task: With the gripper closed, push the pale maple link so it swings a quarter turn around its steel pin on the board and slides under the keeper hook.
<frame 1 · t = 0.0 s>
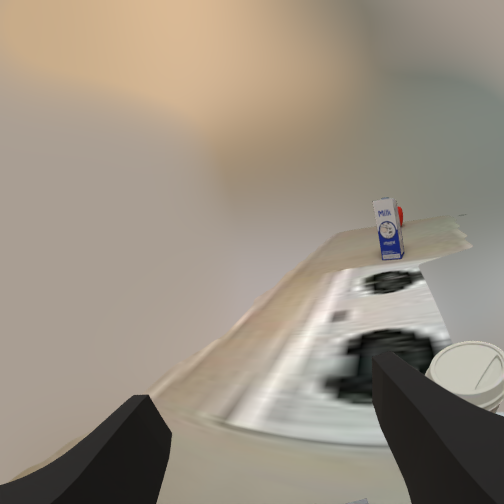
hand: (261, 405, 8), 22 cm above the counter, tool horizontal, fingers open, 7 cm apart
coffee cup: (449, 451, 19), on the counter
apple: (396, 228, 134), on the counter
milk carton: (393, 257, 91), on the counter
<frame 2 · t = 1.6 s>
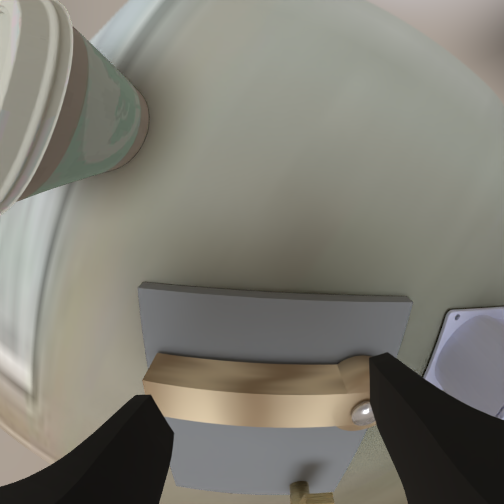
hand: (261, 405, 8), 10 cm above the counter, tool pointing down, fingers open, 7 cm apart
keeper: (306, 495, 20), on the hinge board, point 4 cm above the counter
coffee cup: (109, 126, 16), on the counter
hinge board: (265, 425, 21), on the counter
link: (274, 395, 17), point 3 cm above the counter, hinge at 0.0°
pintle: (367, 413, 15), point 4 cm above the counter
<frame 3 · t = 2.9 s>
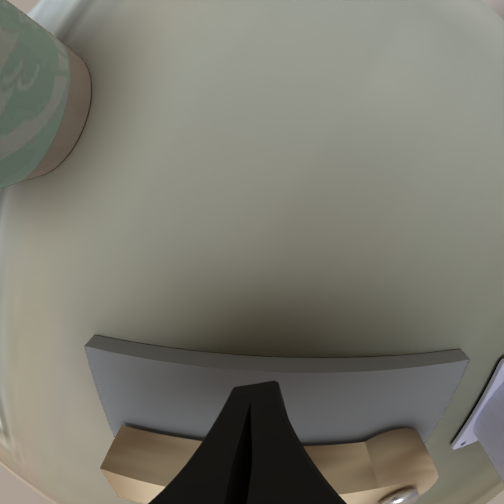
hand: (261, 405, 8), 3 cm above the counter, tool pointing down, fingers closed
coffee cup: (43, 112, 9), on the counter
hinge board: (266, 491, 15), on the counter
link: (280, 485, 10), point 3 cm above the counter, hinge at 0.0°
pintle: (399, 501, 8), point 5 cm above the counter
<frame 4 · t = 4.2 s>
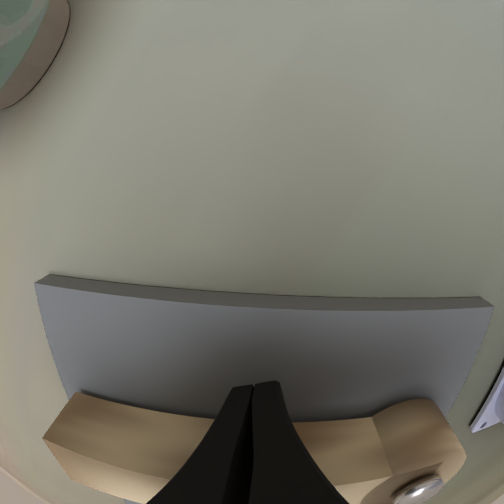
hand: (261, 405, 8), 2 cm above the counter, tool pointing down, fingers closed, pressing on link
coffee cup: (24, 48, 7), on the counter
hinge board: (254, 485, 13), on the counter
link: (263, 474, 8), point 3 cm above the counter, hinge at 0.8°, touching gripper
pintle: (418, 493, 6), point 4 cm above the counter
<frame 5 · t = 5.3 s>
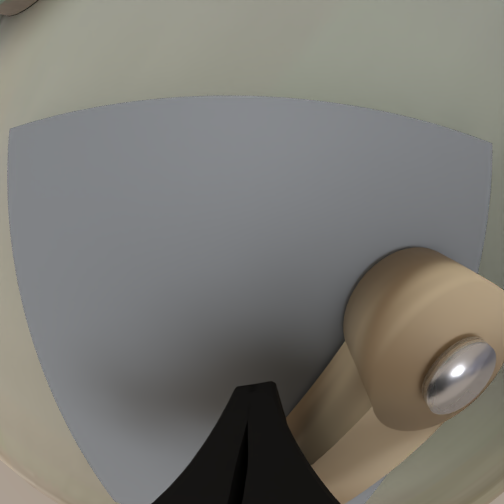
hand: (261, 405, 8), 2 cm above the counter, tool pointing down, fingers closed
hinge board: (227, 420, 11), on the counter
link: (321, 458, 8), point 3 cm above the counter, hinge at 67.5°, touching gripper
pintle: (460, 377, 5), point 5 cm above the counter
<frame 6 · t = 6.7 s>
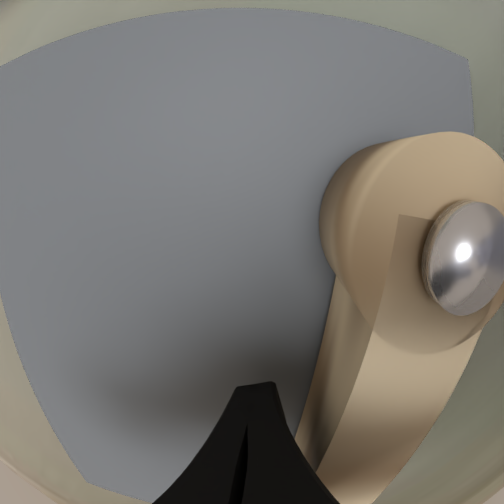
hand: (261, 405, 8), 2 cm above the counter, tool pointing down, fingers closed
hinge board: (195, 372, 10), on the counter
link: (362, 418, 7), point 3 cm above the counter, hinge at 87.9°, touching gripper
pintle: (470, 258, 4), point 4 cm above the counter
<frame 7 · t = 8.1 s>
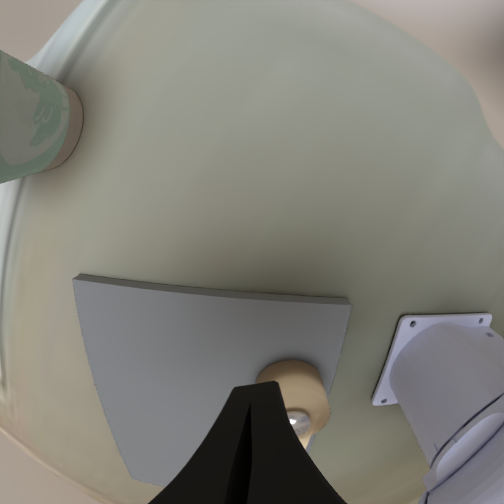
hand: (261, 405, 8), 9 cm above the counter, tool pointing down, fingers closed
coffee cup: (53, 127, 15), on the counter
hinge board: (205, 424, 20), on the counter
link: (275, 451, 18), point 3 cm above the counter, hinge at 87.9°
pintle: (292, 423, 14), point 4 cm above the counter
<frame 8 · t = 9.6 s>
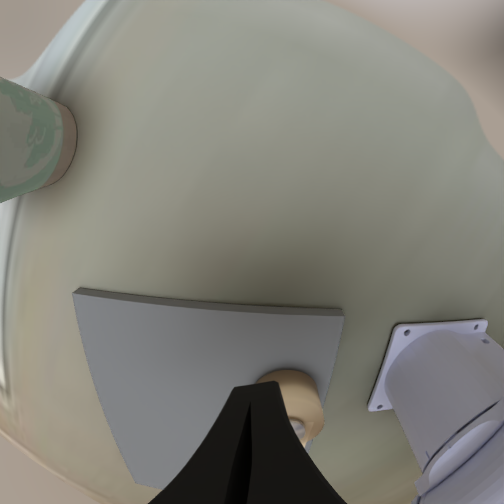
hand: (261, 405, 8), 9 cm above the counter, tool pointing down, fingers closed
coffee cup: (48, 144, 15), on the counter
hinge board: (205, 430, 21), on the counter
link: (273, 456, 18), point 3 cm above the counter, hinge at 87.9°
pintle: (287, 431, 15), point 5 cm above the counter
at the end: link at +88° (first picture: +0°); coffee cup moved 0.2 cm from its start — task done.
